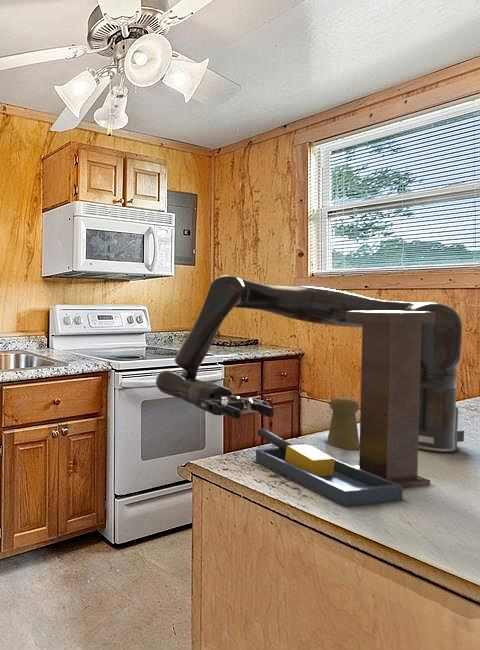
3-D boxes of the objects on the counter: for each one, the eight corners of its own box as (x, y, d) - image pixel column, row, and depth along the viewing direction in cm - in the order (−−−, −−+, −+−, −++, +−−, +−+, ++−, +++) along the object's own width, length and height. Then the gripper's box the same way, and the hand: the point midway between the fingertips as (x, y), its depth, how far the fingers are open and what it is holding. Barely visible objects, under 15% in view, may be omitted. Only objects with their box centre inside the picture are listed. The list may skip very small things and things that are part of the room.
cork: (347, 440, 102) (348, 395, 102) (366, 449, 96) (368, 401, 96) (321, 439, 103) (322, 394, 103) (338, 448, 97) (339, 401, 97)
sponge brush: (268, 437, 97) (269, 423, 96) (332, 475, 81) (335, 458, 81) (248, 438, 96) (250, 424, 96) (310, 477, 81) (312, 460, 80)
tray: (302, 457, 92) (303, 446, 92) (402, 500, 73) (403, 486, 72) (255, 461, 90) (255, 449, 90) (345, 506, 71) (345, 491, 70)
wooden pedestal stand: (384, 468, 86) (388, 310, 85) (430, 485, 78) (435, 312, 77) (342, 471, 84) (345, 311, 83) (385, 489, 76) (389, 312, 75)
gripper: (185, 384, 112) (228, 398, 96) (233, 382, 114) (283, 396, 98) (185, 412, 112) (228, 431, 96) (233, 409, 114) (283, 428, 98)
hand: (256, 413), depth 97 cm, fingers open, 8 cm apart
